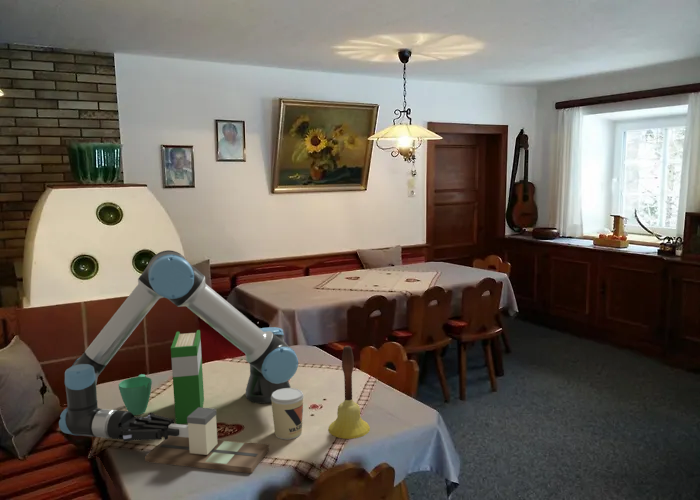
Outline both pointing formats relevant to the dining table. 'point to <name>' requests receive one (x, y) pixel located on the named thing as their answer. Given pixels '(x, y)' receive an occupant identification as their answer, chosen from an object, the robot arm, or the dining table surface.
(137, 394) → the mug
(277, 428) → the coffee cup
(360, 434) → the handbell
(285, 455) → the dining table surface
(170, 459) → the fader track
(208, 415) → the fader knob
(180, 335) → the hardback book
